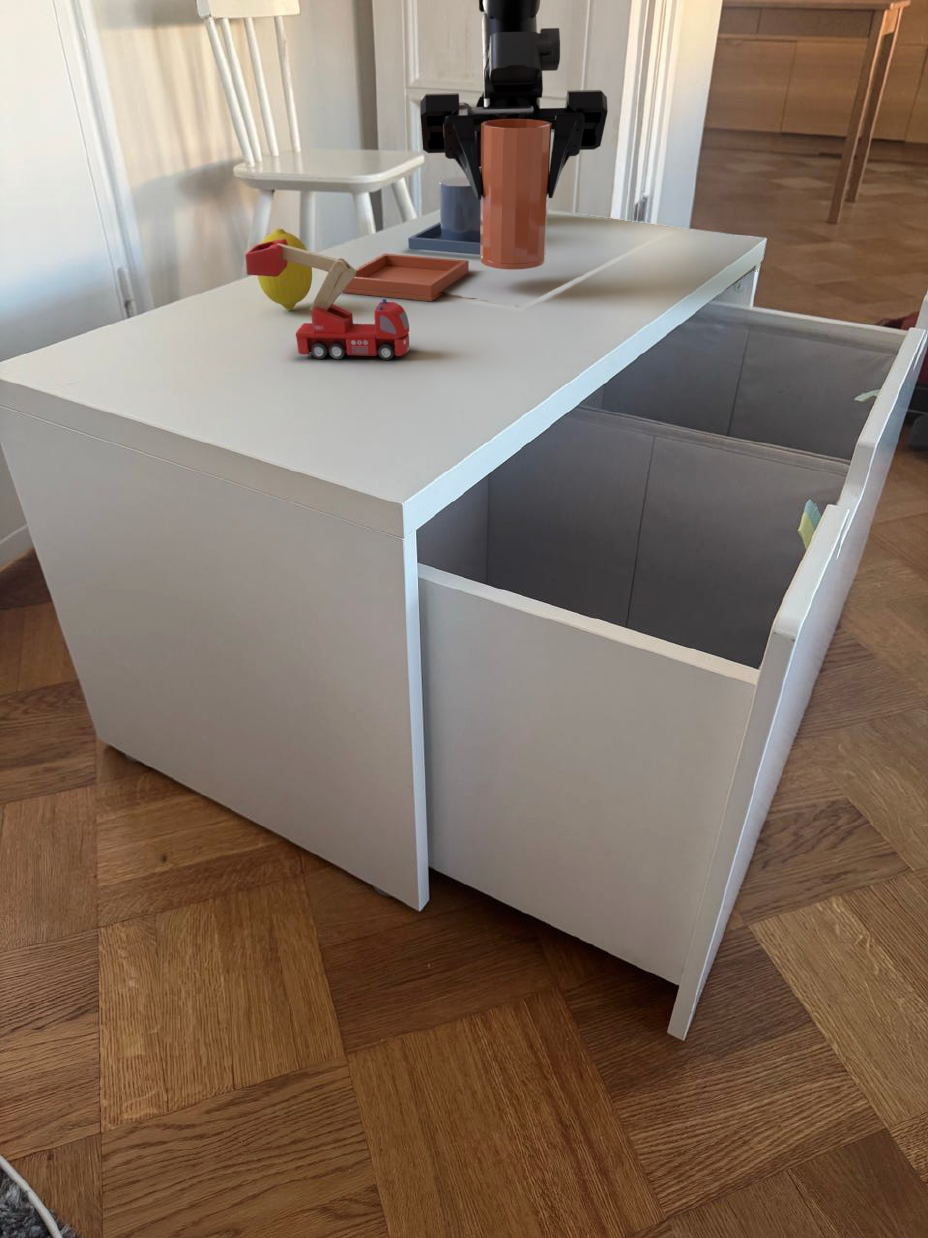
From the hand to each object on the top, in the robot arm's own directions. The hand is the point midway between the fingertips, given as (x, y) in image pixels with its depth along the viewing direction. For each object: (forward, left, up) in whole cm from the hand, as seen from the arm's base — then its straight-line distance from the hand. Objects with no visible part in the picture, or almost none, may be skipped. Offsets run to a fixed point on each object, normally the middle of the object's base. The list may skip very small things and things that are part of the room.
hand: (515, 196), depth 92 cm
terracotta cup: (-1, -1, -7) cm, 7 cm away
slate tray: (-16, -17, -10) cm, 25 cm away
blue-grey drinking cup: (-16, -17, -9) cm, 25 cm away
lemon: (+16, -18, -10) cm, 26 cm away
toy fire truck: (+24, -5, -10) cm, 26 cm away
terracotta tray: (+2, -13, -10) cm, 16 cm away
